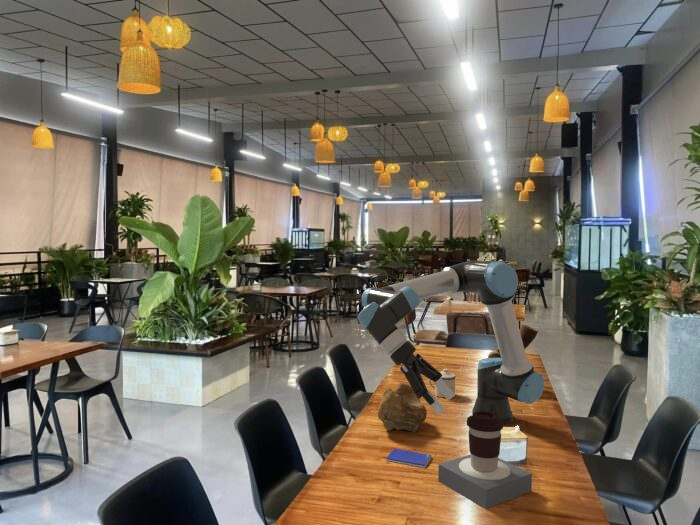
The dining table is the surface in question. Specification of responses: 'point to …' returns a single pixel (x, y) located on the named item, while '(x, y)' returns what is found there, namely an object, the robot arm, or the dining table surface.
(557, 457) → the dining table surface
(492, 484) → the slate stand
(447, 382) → the teacup with lid
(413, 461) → the hard drive
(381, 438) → the dining table surface
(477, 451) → the coffee cup
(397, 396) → the rough brown rock
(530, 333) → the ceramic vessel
